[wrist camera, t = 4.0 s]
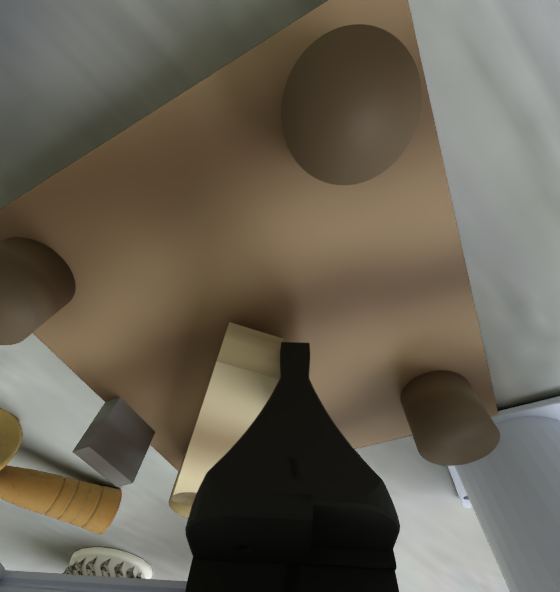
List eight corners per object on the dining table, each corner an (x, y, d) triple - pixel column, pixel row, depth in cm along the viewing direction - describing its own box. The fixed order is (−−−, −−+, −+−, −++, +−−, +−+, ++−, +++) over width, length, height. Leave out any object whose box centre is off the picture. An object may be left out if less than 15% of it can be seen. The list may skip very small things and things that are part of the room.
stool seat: (474, 377, 18) (535, 469, 13) (205, 451, 22) (181, 538, 18) (376, -11, 10) (442, -115, 5) (-6, 226, 15) (-145, 279, 10)
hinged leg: (222, 478, 19) (213, 523, 17) (179, 468, 19) (165, 512, 17) (285, 339, 14) (283, 380, 11) (226, 321, 13) (213, 360, 11)
